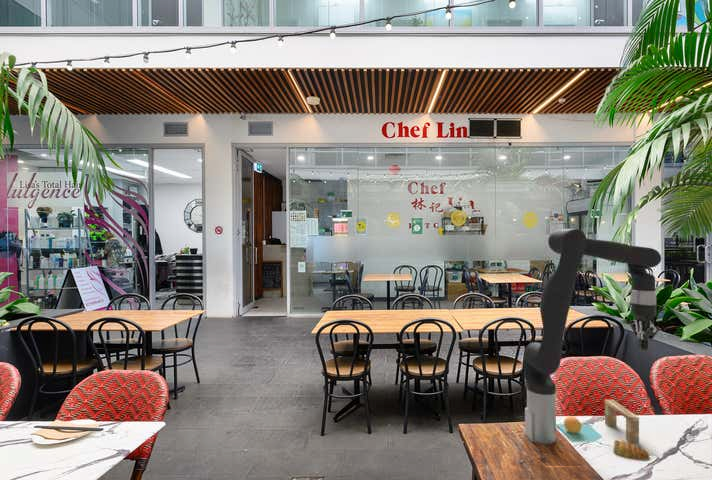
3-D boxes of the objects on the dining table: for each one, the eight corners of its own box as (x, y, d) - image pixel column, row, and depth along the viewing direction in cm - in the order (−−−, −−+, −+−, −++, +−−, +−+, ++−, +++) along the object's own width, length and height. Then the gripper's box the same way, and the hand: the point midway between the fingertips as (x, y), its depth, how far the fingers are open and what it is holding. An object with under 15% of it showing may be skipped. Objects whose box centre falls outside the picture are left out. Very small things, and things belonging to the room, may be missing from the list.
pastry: (648, 455, 125) (648, 443, 125) (649, 465, 120) (648, 452, 120) (613, 447, 131) (613, 435, 131) (612, 456, 125) (612, 444, 125)
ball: (565, 426, 138) (578, 417, 137) (558, 419, 143) (570, 410, 143) (574, 439, 137) (587, 430, 137) (567, 431, 143) (579, 423, 143)
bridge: (629, 444, 132) (629, 417, 132) (605, 423, 146) (604, 399, 146) (639, 444, 132) (638, 417, 132) (613, 424, 146) (613, 399, 146)
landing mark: (571, 441, 134) (571, 440, 134) (556, 424, 146) (556, 424, 146) (607, 442, 134) (607, 441, 134) (589, 425, 146) (589, 424, 146)
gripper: (621, 299, 150) (621, 344, 150) (644, 305, 137) (645, 354, 137) (641, 299, 149) (642, 344, 150) (667, 305, 136) (667, 354, 136)
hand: (643, 349), depth 143 cm, fingers closed
